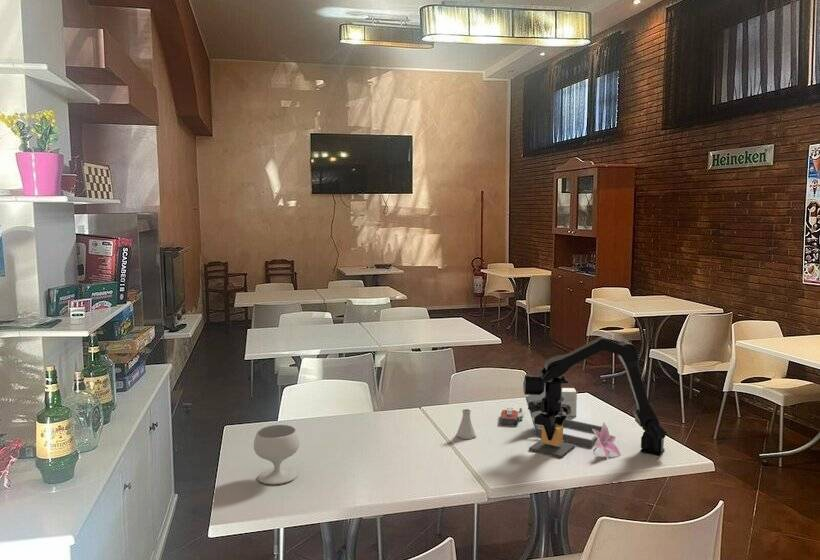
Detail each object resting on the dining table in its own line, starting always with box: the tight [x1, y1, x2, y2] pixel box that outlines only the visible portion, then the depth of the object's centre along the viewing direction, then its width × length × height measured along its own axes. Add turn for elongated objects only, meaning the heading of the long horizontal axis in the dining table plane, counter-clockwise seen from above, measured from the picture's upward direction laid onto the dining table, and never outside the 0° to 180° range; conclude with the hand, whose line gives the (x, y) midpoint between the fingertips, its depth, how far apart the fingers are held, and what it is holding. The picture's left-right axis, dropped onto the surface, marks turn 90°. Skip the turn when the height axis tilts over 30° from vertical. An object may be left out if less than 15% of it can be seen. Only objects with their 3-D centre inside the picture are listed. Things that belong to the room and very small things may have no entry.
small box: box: [562, 387, 578, 417], centre depth 250 cm, size 8×6×10 cm
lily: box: [592, 422, 622, 460], centre depth 208 cm, size 12×12×10 cm
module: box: [541, 425, 564, 446], centre depth 212 cm, size 6×4×6 cm
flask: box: [456, 408, 477, 440], centre depth 225 cm, size 7×7×10 cm
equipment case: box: [525, 386, 602, 448], centre depth 227 cm, size 26×18×14 cm
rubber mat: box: [528, 438, 576, 459], centre depth 212 cm, size 12×12×1 cm
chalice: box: [253, 424, 300, 485], centre depth 189 cm, size 14×14×15 cm
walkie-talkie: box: [500, 407, 524, 426], centre depth 245 cm, size 9×4×20 cm
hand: (552, 438), depth 212 cm, fingers closed on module, 4 cm apart
